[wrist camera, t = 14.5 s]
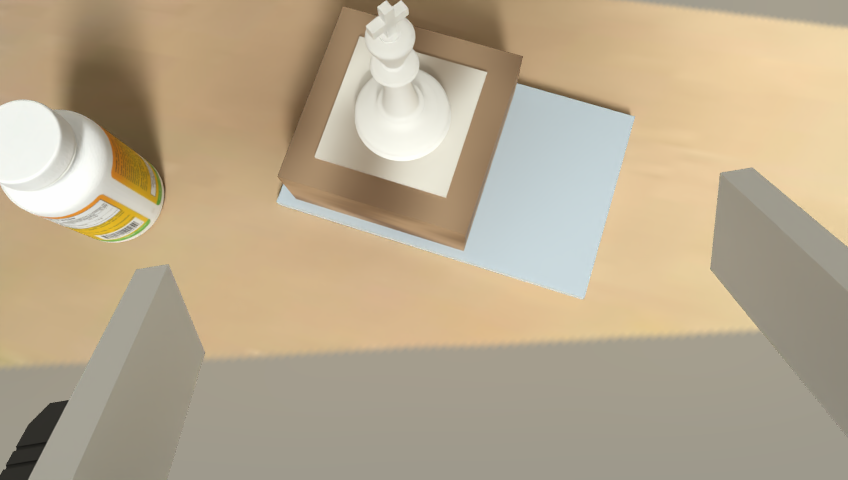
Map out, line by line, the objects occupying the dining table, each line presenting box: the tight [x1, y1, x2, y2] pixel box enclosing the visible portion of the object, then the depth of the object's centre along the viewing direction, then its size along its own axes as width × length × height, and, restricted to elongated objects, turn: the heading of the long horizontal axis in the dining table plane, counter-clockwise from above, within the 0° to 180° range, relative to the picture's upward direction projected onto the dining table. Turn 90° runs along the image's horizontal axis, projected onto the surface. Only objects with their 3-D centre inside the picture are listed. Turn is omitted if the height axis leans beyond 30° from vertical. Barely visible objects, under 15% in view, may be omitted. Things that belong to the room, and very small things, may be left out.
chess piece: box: [355, 0, 451, 161], centre depth 29 cm, size 5×5×10 cm
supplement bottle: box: [0, 100, 164, 243], centre depth 34 cm, size 5×5×10 cm
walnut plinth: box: [277, 6, 523, 251], centre depth 37 cm, size 10×10×5 cm
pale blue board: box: [277, 83, 635, 299], centre depth 38 cm, size 18×11×1 cm, turn 72°
